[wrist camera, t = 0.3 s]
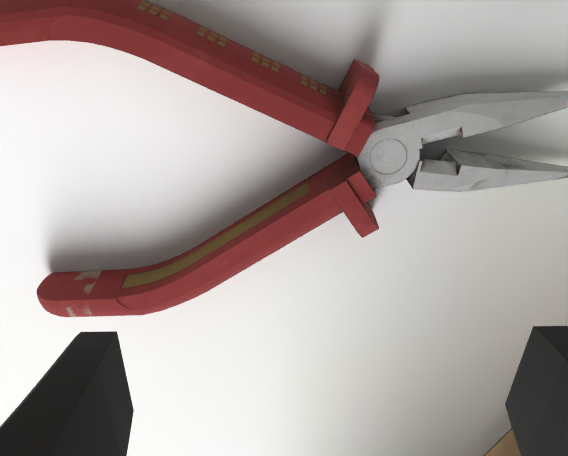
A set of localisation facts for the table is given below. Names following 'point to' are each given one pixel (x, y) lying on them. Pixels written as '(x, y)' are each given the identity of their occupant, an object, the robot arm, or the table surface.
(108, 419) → the robot arm
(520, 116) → the pliers
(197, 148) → the table surface
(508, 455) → the wooden tray
